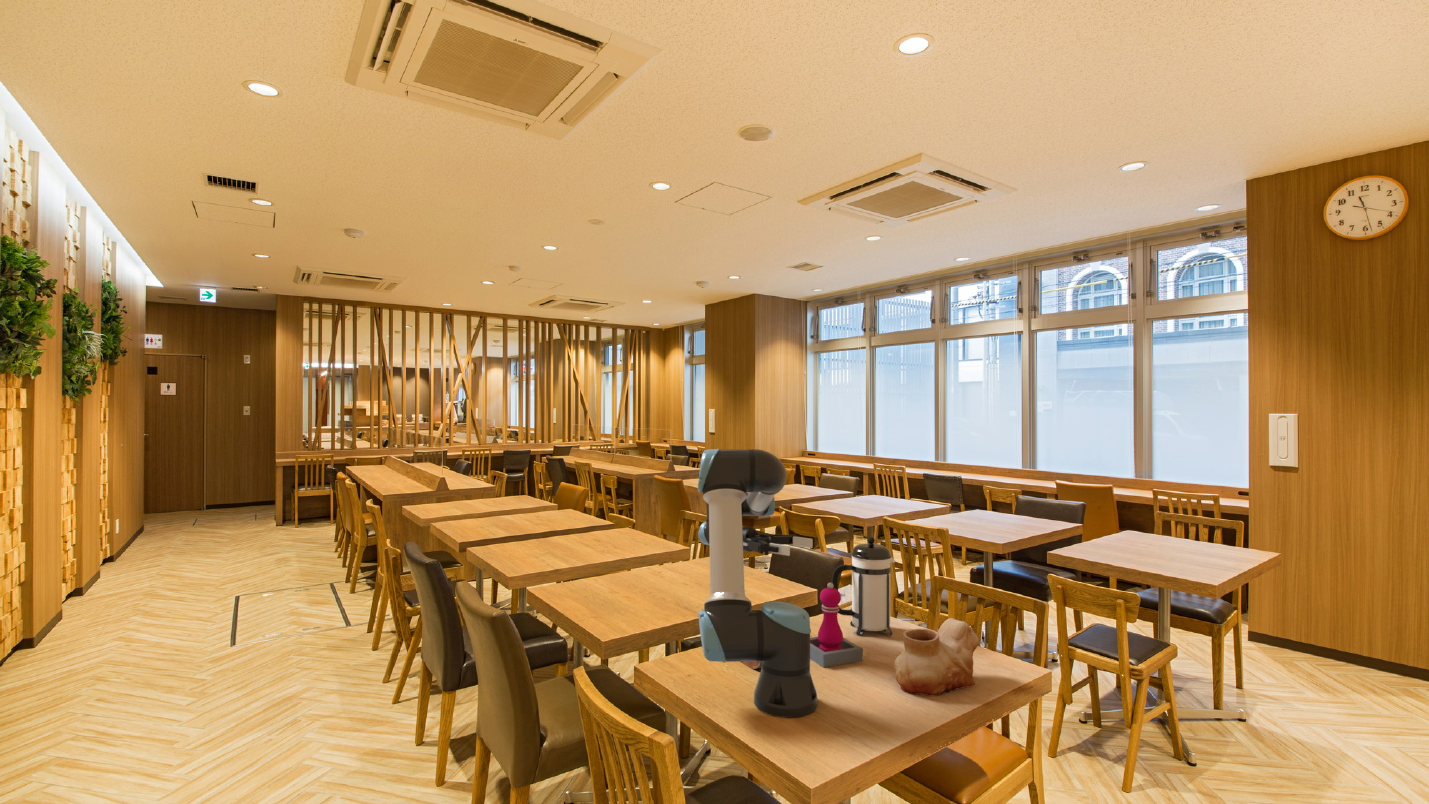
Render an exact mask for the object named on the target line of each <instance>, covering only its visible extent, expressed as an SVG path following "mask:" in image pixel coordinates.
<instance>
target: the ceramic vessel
mask: <svg viewBox="0 0 1429 804" xmlns="http://www.w3.org/2000/svg"><path fill="white" fill-rule="evenodd" d="M902 638H903V639H902V640H903V644H904V647H903V648H904V651H902V653H900V654H899V655H898V656H897V657H896V658H895V660H894V663H893V669H894V672H895V679H896V682H897V683H898V685H899V686H900V690H901V691H902V692H904V693H906V694H910V695H924V696H929V697H935V696H942V695H944V694H946V693H950V692H952V691H956V690H958V689H963V687H964V688H968V687H967V686H969V687H975V686H976V680H975V676H974V657H973V656H974V652H975V651H976V649H977V647H978V646H979V637H978V635H977V634H976V633H975V631H974V629H973V627H972V626H971V625H969V624H968V623H967V622H966V621H961V620H958V619H956V618H953V617H950V618H947V619H946V620H944V622H943V623H942V624H941V625H940V627H939V628H938V629H937V631H936V630H934V629H930V628H913V629H907V630H905V631H904V632H903V633H902ZM955 689H956V690H955Z"/></svg>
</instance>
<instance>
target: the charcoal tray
mask: <svg viewBox="0 0 1429 804" xmlns="http://www.w3.org/2000/svg"><path fill="white" fill-rule="evenodd" d="M820 644H821V643H820V642H819V640H818V636H815V637H814V636H813V637H810V661H813V662H814V663H816V664H817V665H818V666H820V667H822V668H823V667H824V668H828V666H830V667H835V666H840V665H847V664H852V663H858V662H863V660H864V658H863V657H864V656H863V655H864V649H863V647H862V646H860V645H858V644H856V643H854V642H852V641H850V640H849V639H847V638H845V637H843V641H842V643H841V644H840V646H841V650H835V651H829V652H824V651H822V650H821V649H819V646H820Z"/></svg>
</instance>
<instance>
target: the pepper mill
mask: <svg viewBox="0 0 1429 804" xmlns="http://www.w3.org/2000/svg"><path fill="white" fill-rule="evenodd" d="M833 587H834V585H833V583H832V582H828V583H827V587H826V588H825V587H824V588H823V589H822V590H821V591H820V594H819V600H820V602H821V603H822V604H821V610H822V613H823V617H822V622H821V625H820V627H819V629H818V632H817V637H818V640H819V642H820V643H821V644H820V646H819V649H821V650H822V651H824V652H829V651H835V650H841V646H840V644H841V643H842V641H843V638H844V634H843V631H842V629H841V626H840V624H839V621H838V614H839V613H838V611H839V607H840V605H839V604H840V603H841V601H842V595H841V593H840V591H839V590H837V589H835V588H833Z"/></svg>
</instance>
